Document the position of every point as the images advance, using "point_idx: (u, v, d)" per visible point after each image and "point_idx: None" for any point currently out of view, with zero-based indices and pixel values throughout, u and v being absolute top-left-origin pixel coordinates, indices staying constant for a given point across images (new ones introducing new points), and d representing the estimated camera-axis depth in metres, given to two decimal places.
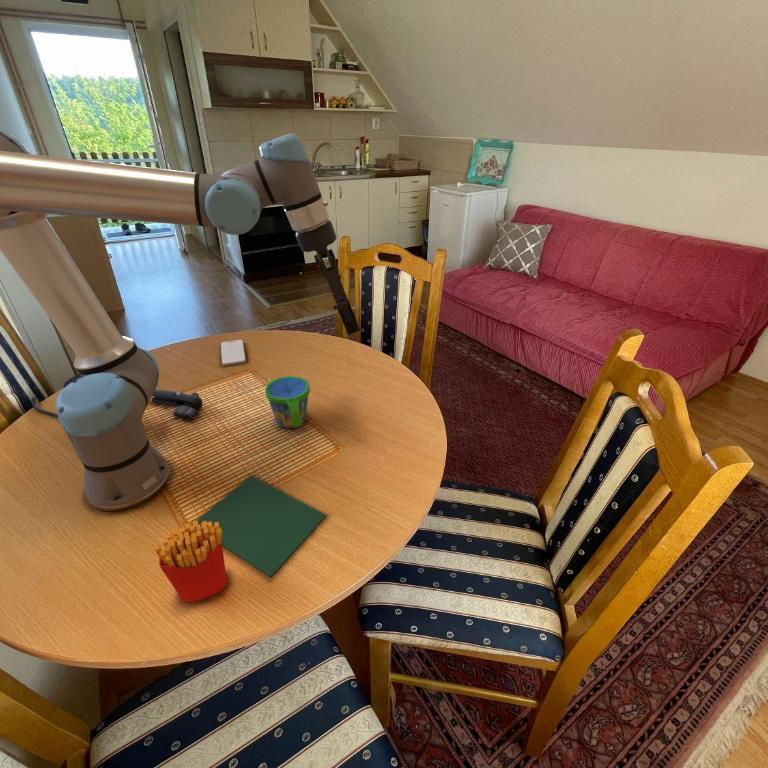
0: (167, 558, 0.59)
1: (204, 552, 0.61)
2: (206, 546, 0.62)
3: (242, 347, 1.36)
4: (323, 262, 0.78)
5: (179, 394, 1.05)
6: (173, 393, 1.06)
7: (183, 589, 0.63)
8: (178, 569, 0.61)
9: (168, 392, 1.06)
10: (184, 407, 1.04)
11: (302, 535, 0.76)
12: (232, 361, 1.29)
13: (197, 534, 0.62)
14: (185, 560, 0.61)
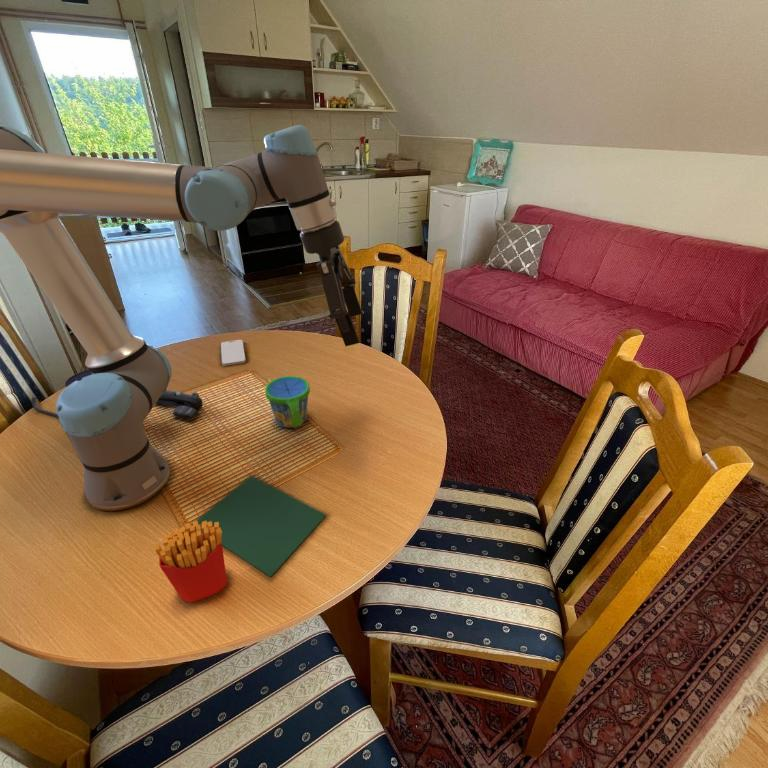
0: (167, 558, 0.59)
1: (204, 552, 0.61)
2: (206, 546, 0.62)
3: (242, 347, 1.36)
4: (321, 266, 0.72)
5: (179, 394, 1.05)
6: (173, 393, 1.06)
7: (183, 589, 0.63)
8: (178, 569, 0.61)
9: (168, 392, 1.06)
10: (184, 407, 1.04)
11: (302, 535, 0.76)
12: (232, 361, 1.29)
13: (197, 534, 0.62)
14: (185, 560, 0.61)
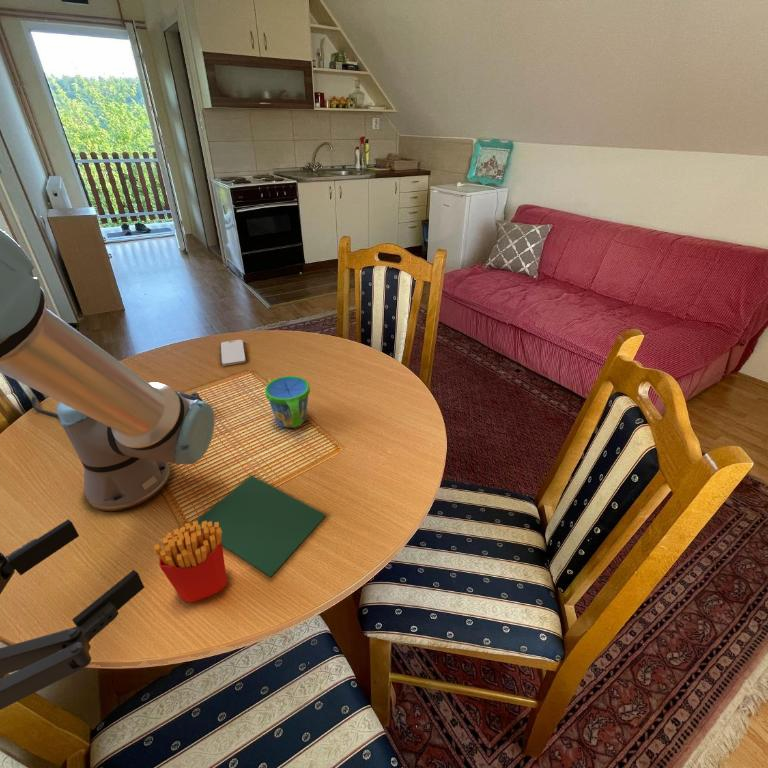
0: (167, 558, 0.59)
1: (204, 552, 0.61)
2: (206, 546, 0.62)
3: (242, 347, 1.36)
4: None
5: None
6: None
7: (183, 589, 0.63)
8: (178, 569, 0.61)
9: None
10: None
11: (302, 535, 0.76)
12: (232, 361, 1.29)
13: (197, 534, 0.62)
14: (185, 560, 0.61)
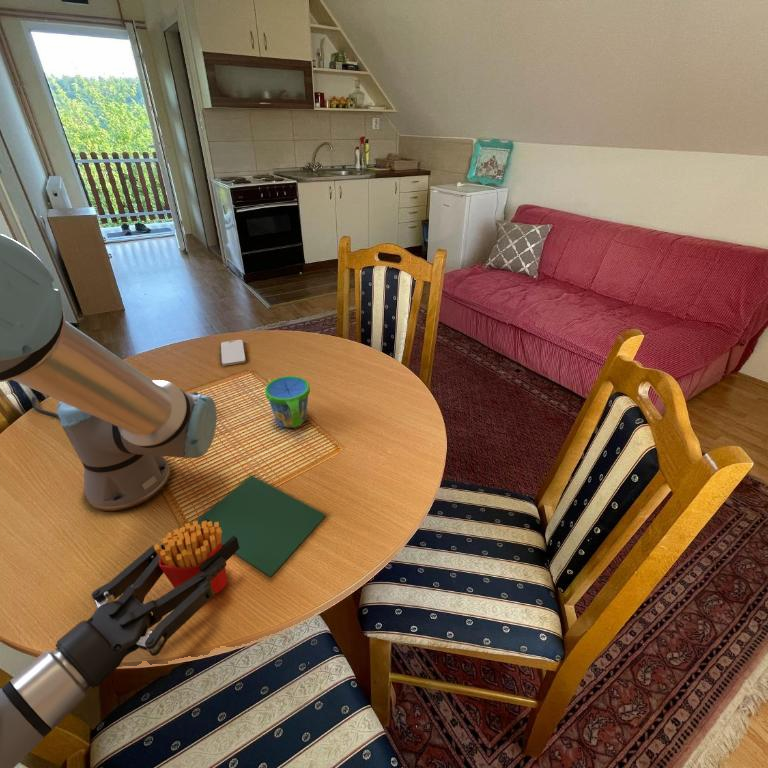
0: (167, 558, 0.59)
1: (204, 552, 0.61)
2: (206, 546, 0.62)
3: (242, 347, 1.36)
4: None
5: None
6: None
7: None
8: (178, 569, 0.61)
9: None
10: None
11: (302, 535, 0.76)
12: (232, 361, 1.29)
13: (197, 534, 0.62)
14: (185, 560, 0.61)
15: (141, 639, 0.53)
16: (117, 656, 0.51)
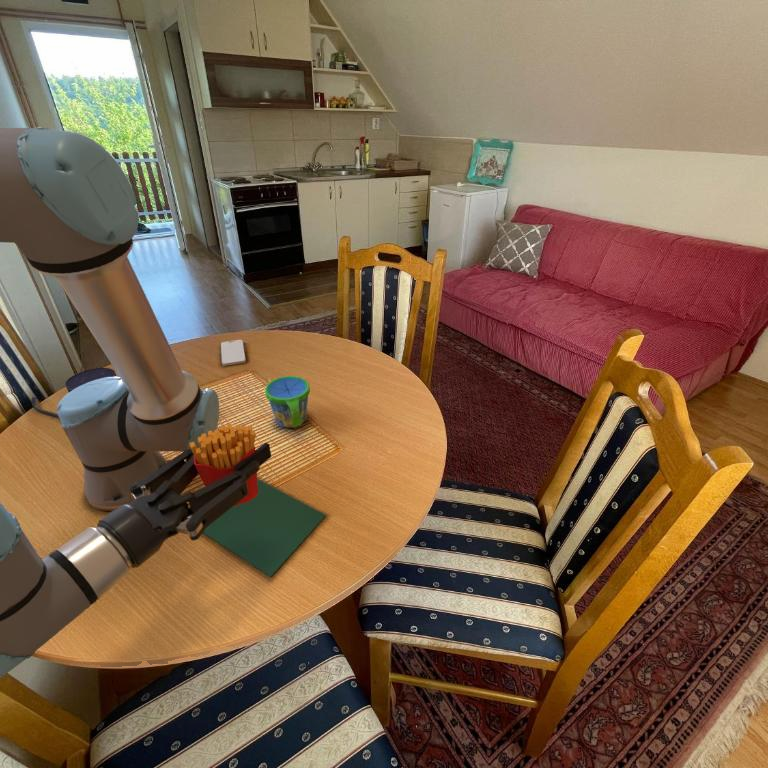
0: (203, 455, 0.60)
1: (238, 453, 0.61)
2: (240, 447, 0.62)
3: (242, 347, 1.36)
4: None
5: None
6: None
7: None
8: (213, 468, 0.61)
9: None
10: None
11: (302, 535, 0.76)
12: (232, 361, 1.29)
13: (231, 435, 0.62)
14: (220, 460, 0.61)
15: (181, 524, 0.53)
16: (158, 537, 0.52)
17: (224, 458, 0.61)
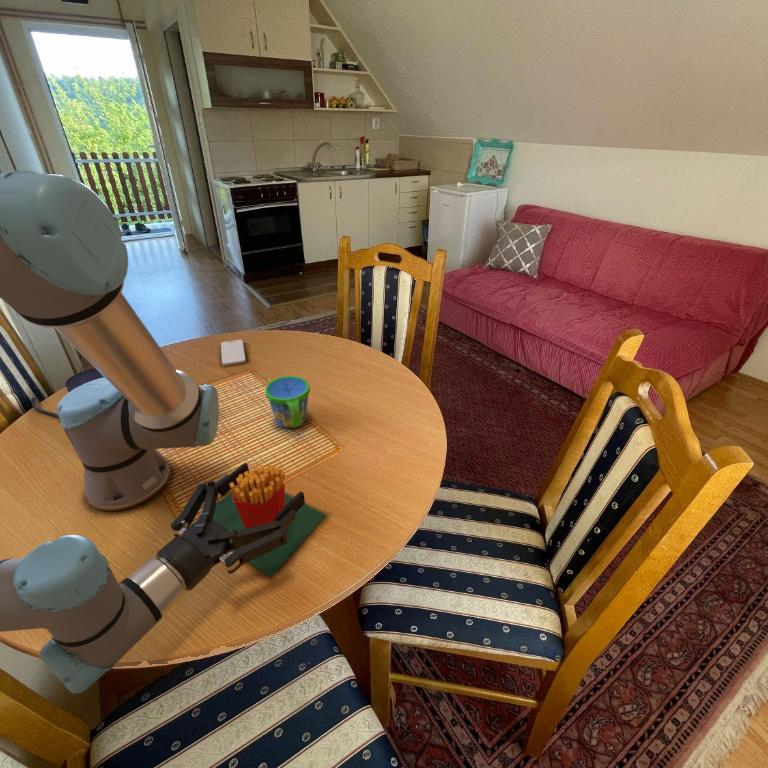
0: (241, 494, 0.69)
1: (271, 490, 0.71)
2: (272, 486, 0.72)
3: (242, 347, 1.36)
4: None
5: None
6: None
7: (251, 524, 0.73)
8: (249, 505, 0.70)
9: None
10: None
11: (302, 535, 0.76)
12: (232, 361, 1.29)
13: (264, 475, 0.72)
14: (255, 497, 0.71)
15: (223, 556, 0.62)
16: (208, 564, 0.61)
17: (259, 495, 0.71)
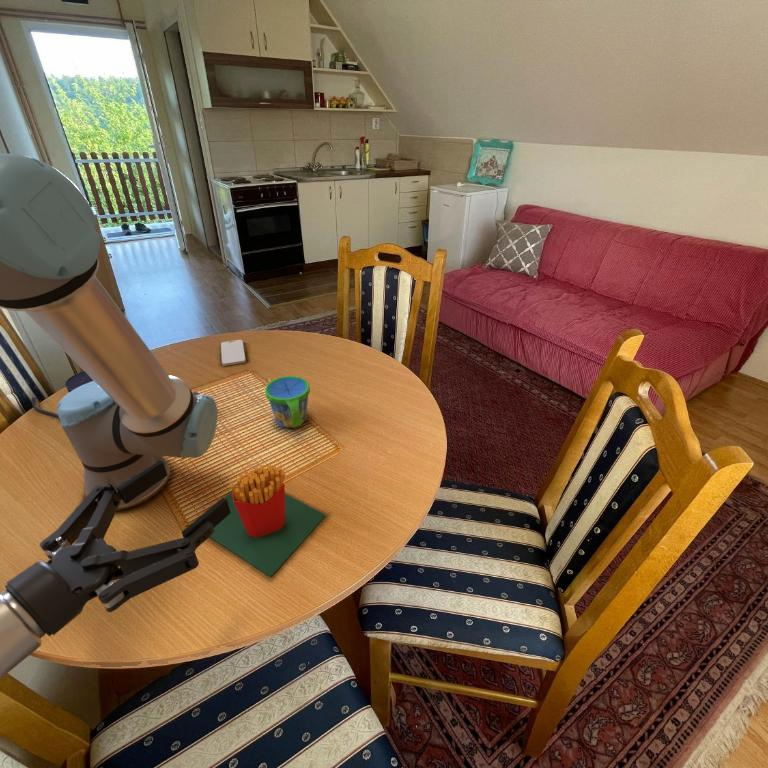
0: (241, 494, 0.69)
1: (271, 490, 0.71)
2: (272, 486, 0.72)
3: (242, 347, 1.36)
4: None
5: None
6: None
7: (251, 524, 0.73)
8: (249, 505, 0.70)
9: None
10: None
11: (302, 535, 0.76)
12: (232, 361, 1.29)
13: (264, 475, 0.72)
14: (255, 497, 0.71)
15: (101, 587, 0.46)
16: (77, 600, 0.45)
17: (259, 495, 0.71)
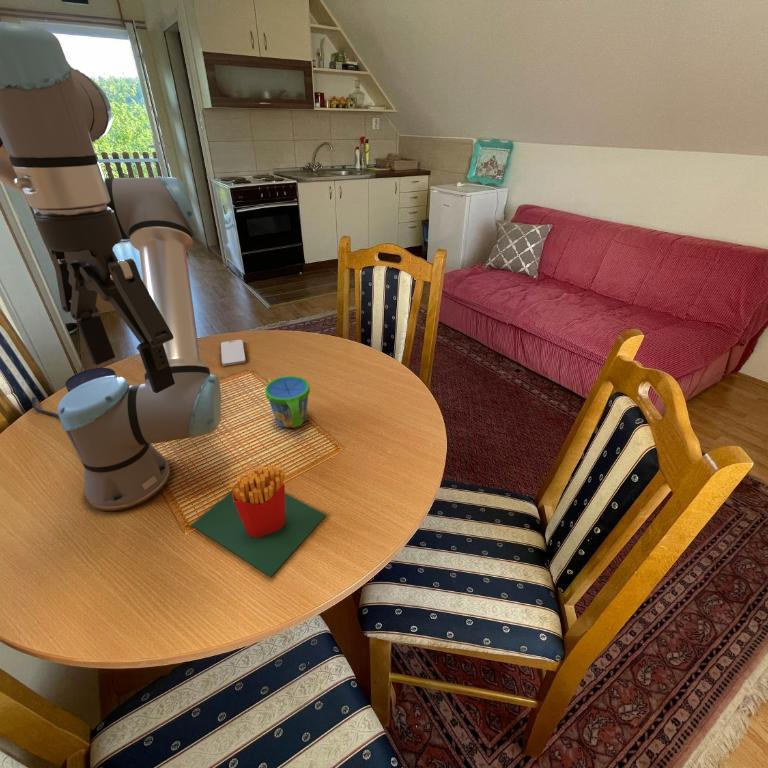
0: (241, 494, 0.69)
1: (271, 490, 0.71)
2: (272, 486, 0.72)
3: (242, 347, 1.36)
4: None
5: None
6: None
7: (251, 524, 0.73)
8: (249, 505, 0.70)
9: None
10: None
11: (302, 535, 0.76)
12: (232, 361, 1.29)
13: (264, 475, 0.72)
14: (255, 497, 0.71)
15: None
16: (107, 246, 0.46)
17: (259, 495, 0.71)
